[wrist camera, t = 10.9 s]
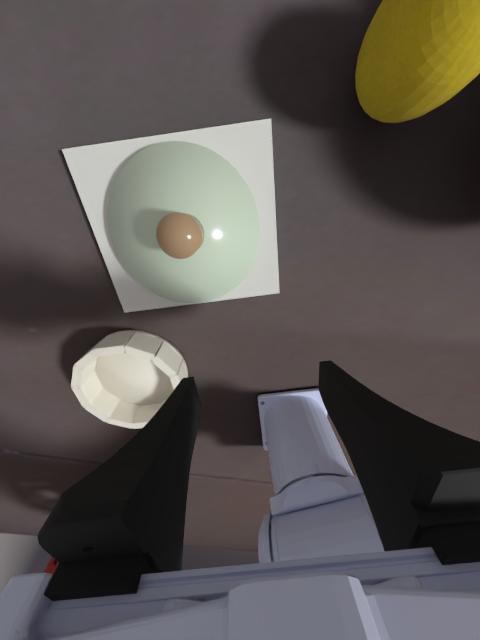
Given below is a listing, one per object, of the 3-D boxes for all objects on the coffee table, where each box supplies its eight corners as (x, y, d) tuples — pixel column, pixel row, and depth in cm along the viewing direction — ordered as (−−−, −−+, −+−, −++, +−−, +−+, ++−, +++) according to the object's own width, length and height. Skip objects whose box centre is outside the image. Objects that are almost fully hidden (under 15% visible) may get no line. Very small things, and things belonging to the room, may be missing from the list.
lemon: (316, 110, 15) (396, 15, 8) (372, -3, 13) (554, -279, 6) (379, 156, 16) (498, 112, 9) (439, 60, 14) (660, -100, 7)
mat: (278, 290, 20) (279, 292, 20) (127, 309, 21) (124, 312, 20) (269, 121, 15) (270, 118, 14) (67, 151, 15) (61, 149, 15)
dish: (196, 400, 26) (192, 422, 23) (112, 410, 26) (98, 433, 23) (175, 323, 21) (166, 340, 19) (73, 336, 22) (51, 354, 19)
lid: (258, 298, 20) (262, 313, 17) (130, 303, 20) (113, 318, 17) (260, 142, 15) (266, 124, 12) (91, 145, 15) (57, 128, 12)
